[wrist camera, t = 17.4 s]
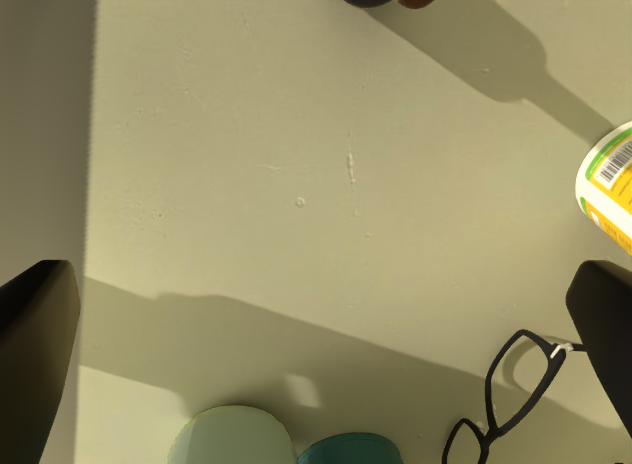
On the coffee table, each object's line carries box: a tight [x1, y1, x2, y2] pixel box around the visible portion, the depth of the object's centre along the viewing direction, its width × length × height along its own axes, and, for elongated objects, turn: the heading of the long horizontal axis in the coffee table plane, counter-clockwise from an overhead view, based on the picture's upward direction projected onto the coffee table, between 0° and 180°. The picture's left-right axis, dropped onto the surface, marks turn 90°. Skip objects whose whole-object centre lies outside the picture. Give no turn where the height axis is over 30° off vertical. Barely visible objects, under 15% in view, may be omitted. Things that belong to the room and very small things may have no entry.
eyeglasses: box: [442, 329, 623, 464], centre depth 31 cm, size 16×16×4 cm
